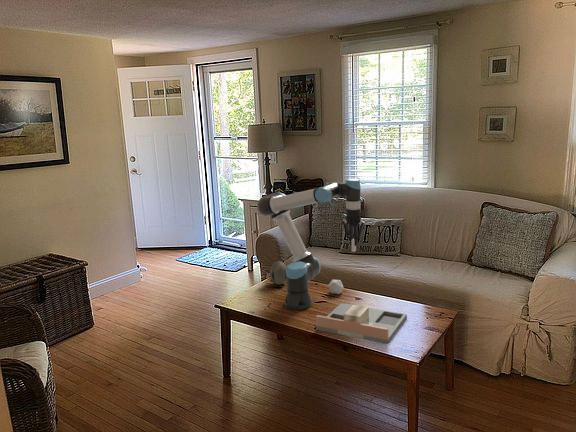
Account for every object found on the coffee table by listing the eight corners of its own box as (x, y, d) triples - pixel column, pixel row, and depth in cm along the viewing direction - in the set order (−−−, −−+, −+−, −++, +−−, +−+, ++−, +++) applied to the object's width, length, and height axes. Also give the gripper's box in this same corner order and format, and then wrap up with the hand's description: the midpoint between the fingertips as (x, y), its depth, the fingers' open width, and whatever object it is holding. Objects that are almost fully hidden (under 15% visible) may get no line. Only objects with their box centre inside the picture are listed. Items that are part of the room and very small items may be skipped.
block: (344, 329, 219) (343, 314, 217) (353, 319, 229) (353, 304, 227) (360, 332, 215) (359, 316, 213) (369, 322, 225) (368, 307, 223)
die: (345, 292, 272) (338, 277, 275) (345, 290, 264) (338, 275, 267) (333, 298, 272) (326, 283, 275) (333, 296, 263) (325, 281, 266)
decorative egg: (292, 283, 290) (291, 260, 287) (280, 288, 282) (278, 265, 278) (279, 279, 298) (277, 257, 295) (266, 285, 289) (265, 262, 286)
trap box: (316, 329, 225) (315, 316, 224) (341, 306, 250) (341, 294, 249) (387, 344, 207) (387, 329, 205) (406, 317, 232) (406, 304, 230)
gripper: (367, 207, 242) (367, 250, 247) (344, 206, 249) (345, 248, 254) (362, 210, 236) (362, 254, 241) (339, 208, 242) (339, 251, 247)
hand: (353, 251), depth 247 cm, fingers closed
